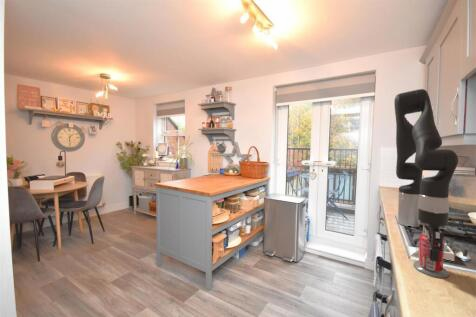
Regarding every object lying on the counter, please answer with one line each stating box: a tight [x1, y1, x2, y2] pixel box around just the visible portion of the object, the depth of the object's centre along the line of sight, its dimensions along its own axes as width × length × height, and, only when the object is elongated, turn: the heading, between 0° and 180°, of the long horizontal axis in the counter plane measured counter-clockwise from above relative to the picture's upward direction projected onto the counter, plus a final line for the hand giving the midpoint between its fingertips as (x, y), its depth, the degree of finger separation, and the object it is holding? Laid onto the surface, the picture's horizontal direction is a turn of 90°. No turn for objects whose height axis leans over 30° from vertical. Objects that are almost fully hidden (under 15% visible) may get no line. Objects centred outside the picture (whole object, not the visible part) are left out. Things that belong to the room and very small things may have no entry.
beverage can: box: [418, 230, 445, 272], centre depth 73 cm, size 6×6×12 cm
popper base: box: [443, 245, 455, 262], centre depth 82 cm, size 7×7×3 cm
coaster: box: [412, 260, 450, 279], centre depth 73 cm, size 9×9×1 cm
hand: (430, 254), depth 73 cm, fingers open, 8 cm apart
